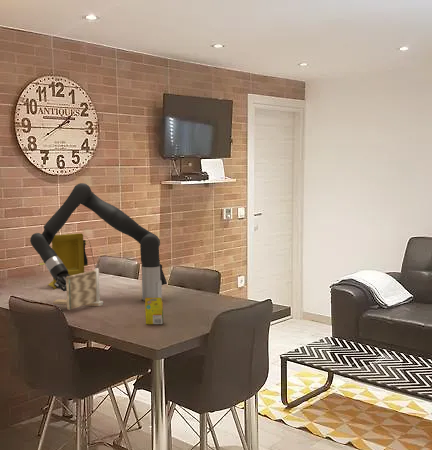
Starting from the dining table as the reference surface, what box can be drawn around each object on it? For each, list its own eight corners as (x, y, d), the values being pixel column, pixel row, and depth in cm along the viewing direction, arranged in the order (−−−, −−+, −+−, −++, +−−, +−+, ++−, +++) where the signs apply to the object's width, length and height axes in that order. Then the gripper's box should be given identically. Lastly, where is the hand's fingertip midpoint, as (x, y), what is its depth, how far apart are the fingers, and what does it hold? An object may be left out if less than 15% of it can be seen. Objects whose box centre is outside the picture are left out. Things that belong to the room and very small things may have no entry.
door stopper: (153, 286, 335) (152, 265, 334) (148, 284, 340) (147, 263, 339) (167, 284, 340) (166, 263, 339) (162, 282, 345) (161, 262, 344)
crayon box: (163, 322, 257) (163, 296, 256) (162, 324, 254) (162, 297, 253) (146, 322, 257) (145, 296, 256) (145, 324, 254) (144, 297, 253)
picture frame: (103, 303, 293) (102, 267, 291) (99, 306, 288) (98, 269, 286) (58, 301, 299) (56, 266, 297) (53, 303, 294) (51, 267, 292)
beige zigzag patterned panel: (94, 301, 290) (93, 270, 288) (96, 301, 289) (95, 270, 287) (66, 309, 274) (65, 276, 272) (69, 309, 273) (68, 276, 272)
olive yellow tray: (88, 280, 354) (86, 230, 351) (97, 283, 343) (96, 232, 340) (36, 286, 336) (34, 234, 333) (44, 290, 325) (42, 236, 322)
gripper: (49, 264, 277) (68, 294, 271) (70, 261, 288) (89, 289, 282) (41, 274, 280) (60, 303, 275) (63, 270, 291) (81, 298, 286)
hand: (75, 296), depth 279 cm, fingers closed
